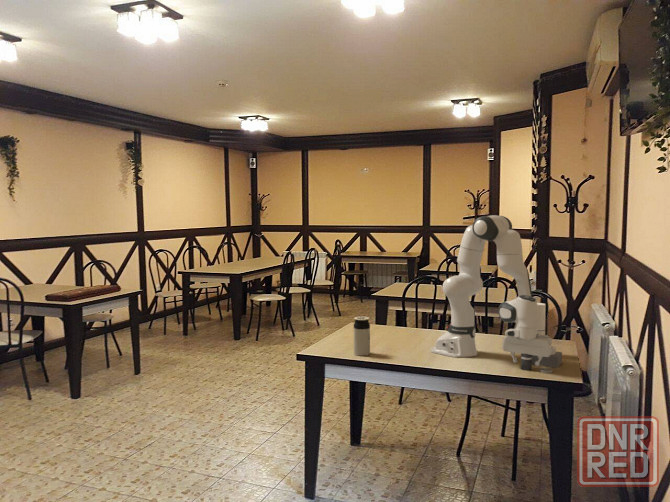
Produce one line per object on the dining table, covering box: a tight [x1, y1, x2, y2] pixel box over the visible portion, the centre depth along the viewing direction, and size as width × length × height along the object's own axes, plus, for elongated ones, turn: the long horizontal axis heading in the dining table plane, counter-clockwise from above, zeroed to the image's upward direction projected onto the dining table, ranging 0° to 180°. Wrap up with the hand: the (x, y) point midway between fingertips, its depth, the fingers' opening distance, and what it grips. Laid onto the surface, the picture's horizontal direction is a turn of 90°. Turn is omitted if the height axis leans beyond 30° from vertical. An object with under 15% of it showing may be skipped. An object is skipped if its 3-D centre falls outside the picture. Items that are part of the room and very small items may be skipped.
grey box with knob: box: [532, 345, 563, 369], centre depth 233 cm, size 12×9×8 cm
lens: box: [520, 353, 533, 371], centre depth 225 cm, size 4×4×7 cm
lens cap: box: [539, 367, 553, 374], centre depth 221 cm, size 5×5×1 cm
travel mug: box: [353, 316, 371, 357], centre depth 252 cm, size 8×8×18 cm
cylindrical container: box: [537, 302, 547, 335], centre depth 247 cm, size 7×7×25 cm
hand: (526, 363), depth 225 cm, fingers open, 8 cm apart
